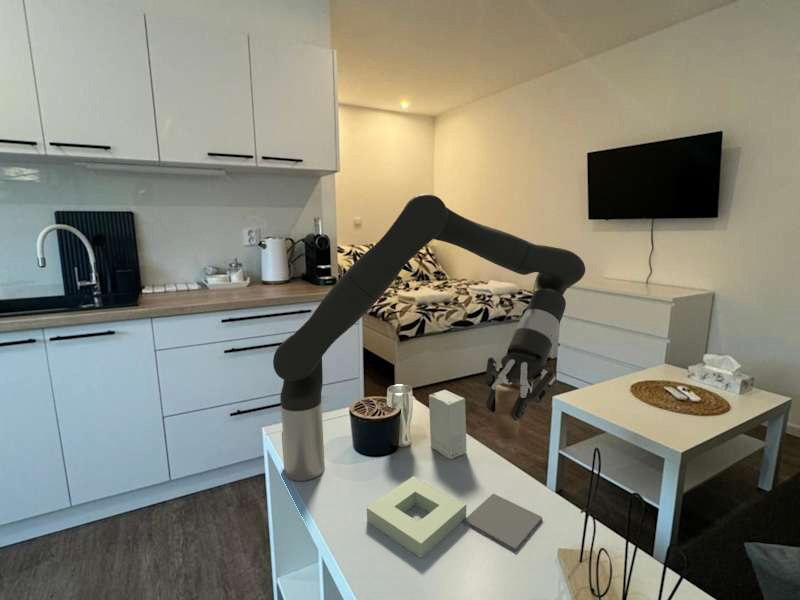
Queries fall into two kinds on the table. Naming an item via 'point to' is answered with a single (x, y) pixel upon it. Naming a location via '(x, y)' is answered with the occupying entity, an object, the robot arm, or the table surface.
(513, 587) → the table surface
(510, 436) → the walnut pin
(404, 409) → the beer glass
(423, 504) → the collar block
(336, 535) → the table surface
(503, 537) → the rubber mat
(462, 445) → the skincare box
